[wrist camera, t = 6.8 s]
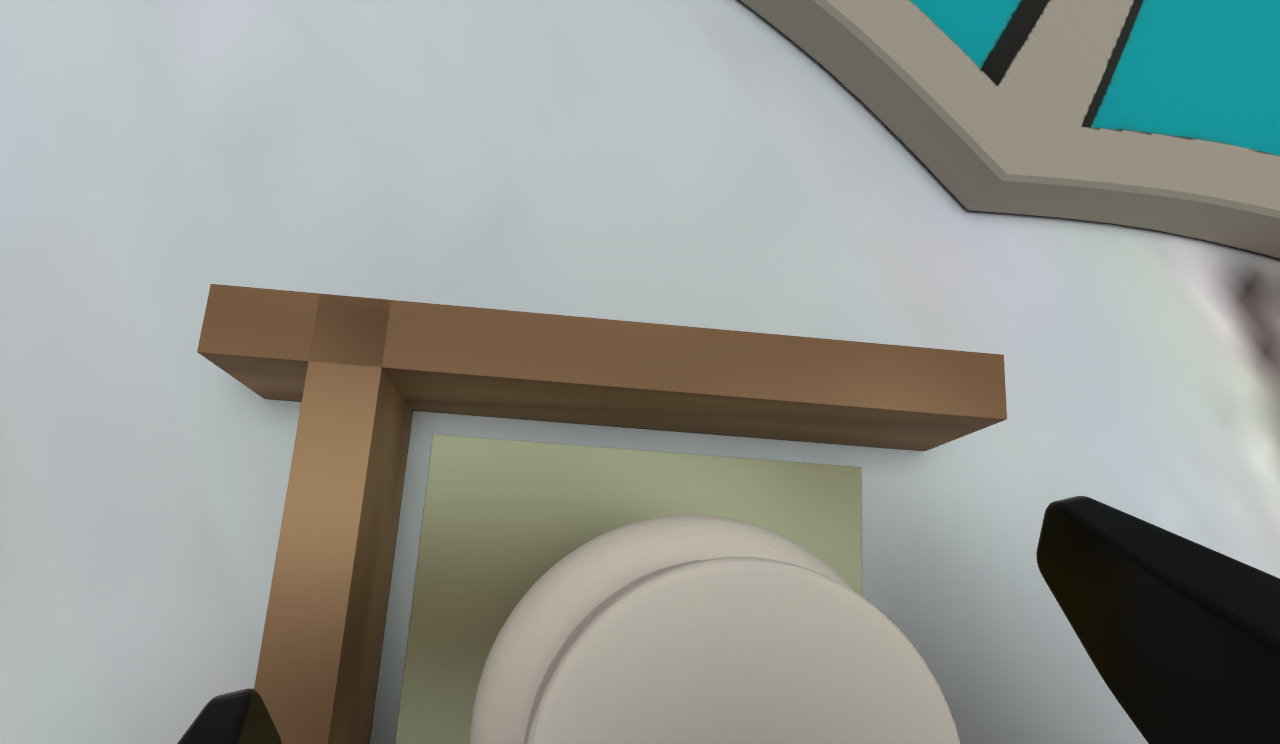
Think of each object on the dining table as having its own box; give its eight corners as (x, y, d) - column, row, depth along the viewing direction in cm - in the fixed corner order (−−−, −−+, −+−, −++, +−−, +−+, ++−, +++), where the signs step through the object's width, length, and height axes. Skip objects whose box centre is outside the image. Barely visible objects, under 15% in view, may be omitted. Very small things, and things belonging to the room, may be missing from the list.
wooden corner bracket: (941, 1102, 16) (1048, 1240, 12) (141, 1090, 15) (18, 1238, 11) (923, 397, 19) (1003, 355, 16) (274, 342, 18) (211, 283, 15)
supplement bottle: (797, 579, 18) (1082, 558, 8) (747, 869, 16) (1025, 1246, 7) (538, 517, 17) (527, 423, 8) (465, 805, 16) (344, 1104, 7)
